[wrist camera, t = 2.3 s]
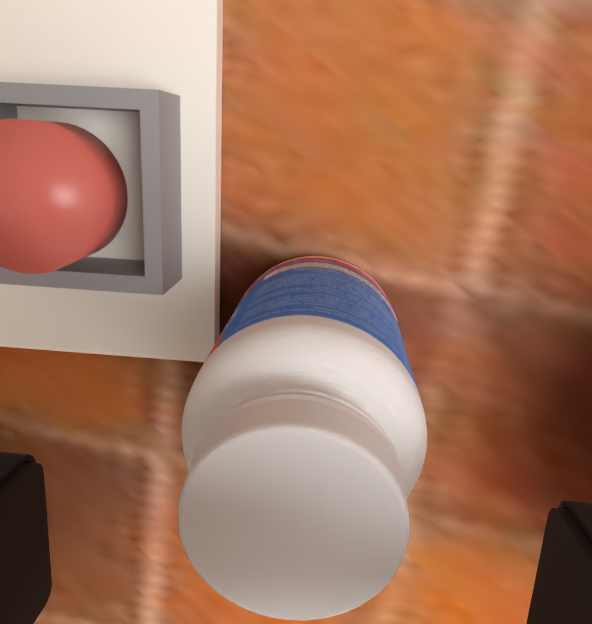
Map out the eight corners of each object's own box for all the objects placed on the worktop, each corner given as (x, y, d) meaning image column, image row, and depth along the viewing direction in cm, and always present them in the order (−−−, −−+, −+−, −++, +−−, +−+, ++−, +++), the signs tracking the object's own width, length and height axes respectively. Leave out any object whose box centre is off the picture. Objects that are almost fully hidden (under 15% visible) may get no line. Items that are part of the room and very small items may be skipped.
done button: (-10, 118, 14) (-62, 114, 13) (125, 125, 14) (92, 122, 12) (5, 253, 16) (-42, 269, 14) (130, 261, 15) (100, 278, 13)
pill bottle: (223, 262, 18) (102, 389, 9) (390, 244, 18) (447, 360, 8) (248, 412, 20) (166, 656, 10) (401, 400, 19) (461, 647, 10)
